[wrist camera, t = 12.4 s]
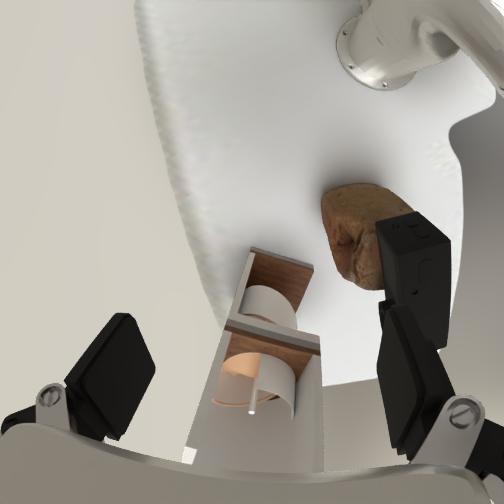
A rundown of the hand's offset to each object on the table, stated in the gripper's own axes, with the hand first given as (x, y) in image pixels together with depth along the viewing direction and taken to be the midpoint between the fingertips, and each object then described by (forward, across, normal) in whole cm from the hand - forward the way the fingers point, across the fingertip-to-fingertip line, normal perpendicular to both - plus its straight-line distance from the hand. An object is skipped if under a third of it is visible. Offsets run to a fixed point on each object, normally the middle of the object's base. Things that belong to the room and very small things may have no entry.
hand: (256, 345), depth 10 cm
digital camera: (+17, -11, +6) cm, 21 cm away
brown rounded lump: (+37, -10, +6) cm, 38 cm away
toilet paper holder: (+36, +4, +19) cm, 41 cm away
